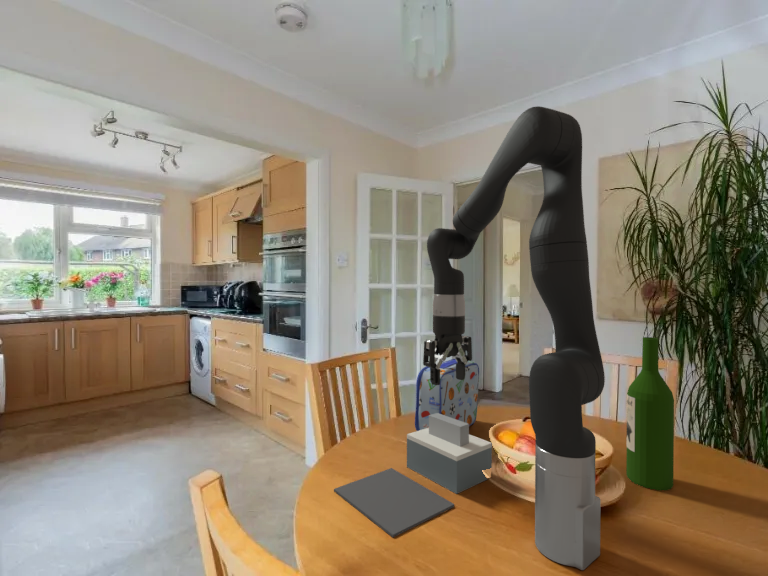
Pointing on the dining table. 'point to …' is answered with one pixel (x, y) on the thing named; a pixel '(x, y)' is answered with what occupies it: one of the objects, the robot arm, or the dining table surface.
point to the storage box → (448, 467)
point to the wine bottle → (650, 424)
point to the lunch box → (447, 394)
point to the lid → (449, 438)
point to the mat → (393, 501)
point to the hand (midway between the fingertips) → (448, 381)
